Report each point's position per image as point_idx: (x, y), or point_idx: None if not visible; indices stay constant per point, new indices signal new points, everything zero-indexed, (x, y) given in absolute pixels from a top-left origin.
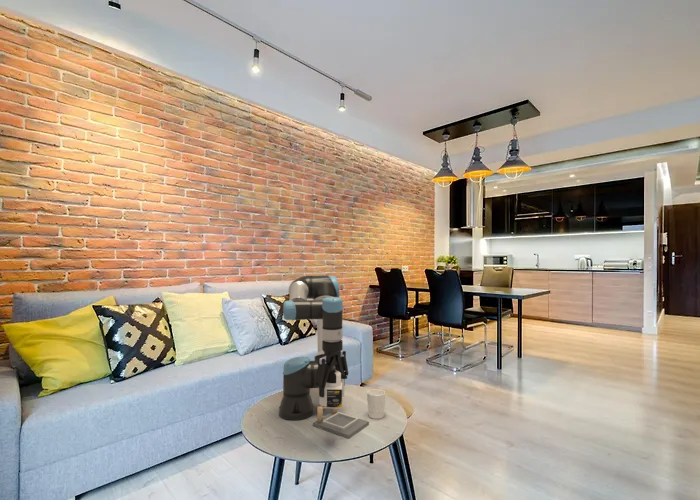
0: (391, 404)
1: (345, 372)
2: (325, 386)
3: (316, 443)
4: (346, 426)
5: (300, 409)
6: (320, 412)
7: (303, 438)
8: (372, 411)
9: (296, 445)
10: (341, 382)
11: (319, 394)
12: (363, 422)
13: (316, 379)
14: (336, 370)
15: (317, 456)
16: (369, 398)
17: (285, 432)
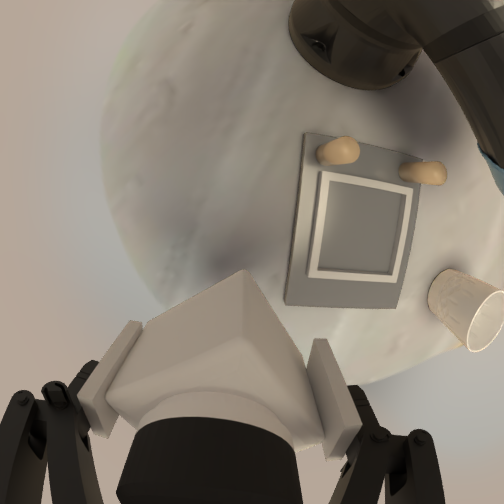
0: None
1: (389, 480)
2: (138, 411)
3: (200, 225)
4: (326, 278)
5: (331, 53)
6: (331, 159)
7: (204, 163)
8: (438, 302)
9: (154, 174)
10: (305, 448)
11: (82, 371)
12: (386, 298)
13: (3, 434)
14: (340, 500)
15: (143, 274)
16: (465, 309)
17: (207, 81)
